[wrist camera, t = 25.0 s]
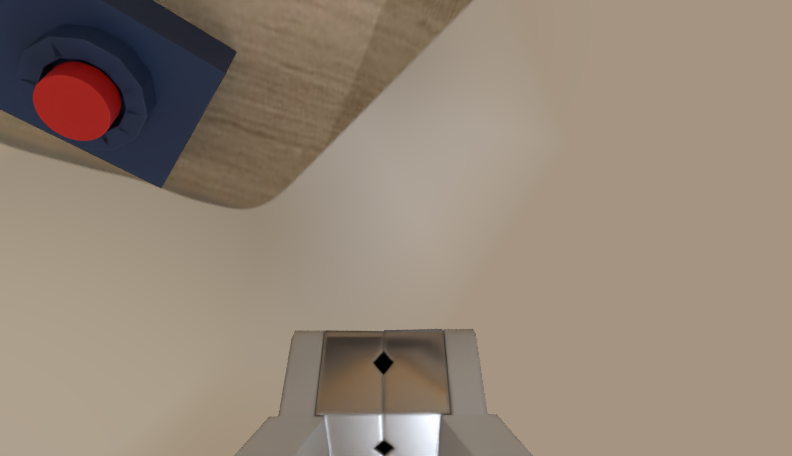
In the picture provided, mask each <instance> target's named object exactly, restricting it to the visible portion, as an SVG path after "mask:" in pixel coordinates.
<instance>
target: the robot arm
mask: <svg viewBox="0 0 792 456" xmlns="http://www.w3.org/2000/svg"><path fill="white" fill-rule="evenodd" d="M235 456H533V455H532V454H531V453H530V452H529V451H528V450H527V449H526V447H525V446H524V445H523V444H522V443H521V442H520V441H519V439H518V438H517V437H516V436H515V435H514V434H513V433H512V431H511V430H510V429H509V428H508V427H507V426H506V425H505V423H504V422H503V421H502V420H501V419H500V418H499V417H498V416H497V415H494V414H487V408H486V401H485V394H484V387H483V381H482V373H481V366H480V359H479V353H478V346H477V339H476V334H475V332H474V330H473V329H444V330H442V329H426V330H425V329H423V330H422V329H421V330H384V331H295V332H294V335H293V337H292V339H291V345H290V351H289V357H288V363H287V369H286V375H285V381H284V386H283V392H282V398H281V404H280V410H279V415H278V417H269V418H268V419H267V420H266V421H265V422H264V423H263V425H262V426H261V427H260V428H259V429H258V430H257V431H256V432H255V433H254V434H253V435H252V437H251V438H250V439H249V440H248V441H247V442H246V443H245V444H244V446H243V447H242V448H241V449H240V450H239V451H238V452H237V453H236V455H235Z"/></svg>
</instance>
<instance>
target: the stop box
mask: <svg viewBox="0 0 792 456" xmlns="http://www.w3.org/2000/svg"><path fill="white" fill-rule="evenodd" d="M235 54H236V51H235V50H233V49H231V48H230V47H228V46H227V45H225V44H223V43H222V42H220V41H218V40H217V39H215V38H213V37H212V36H210V35H208V34H207V33H205V32H204V31H202V30H200V29H199V28H197V27H195V26H194V25H192V24H190V23H189V22H187V21H185V20H184V19H182V18H180V17H179V16H177V15H176V14H174V13H172V12H171V11H169V10H167V9H166V8H164V7H162V6H161V5H159V4H157V3H156V2H154V1H152V0H0V110H3V111H5V112H7V113H9V114H11V115H13V116H15V117H17V118H19V119H21V120H23V121H25V122H27V123H29V124H31V125H33V126H35V127H37V128H39V129H41V130H43V131H45V132H47V133H49V134H52V135H54V136H56V137H58V138H60V139H62V140H64V141H66V142H68V143H70V144H72V145H74V146H76V147H78V148H80V149H82V150H84V151H86V152H88V153H90V154H92V155H94V156H96V157H98V158H100V159H103V160H105V161H107V162H109V163H111V164H113V165H115V166H117V167H119V168H121V169H123V170H125V171H127V172H129V173H131V174H133V175H135V176H137V177H139V178H141V179H143V180H145V181H147V182H149V183H152V184H154V185H156V186H158V187H160V188H162V186H163V184H164V183H165V181H166V179H167V177H168V175H169V174H170V172H171V170H172V168H173V167H174V165H175V163H176V161H177V159H178V158H179V156H180V154H181V152H182V150H183V149H184V147H185V145H186V143H187V142H188V140H189V138H190V136H191V134H192V133H193V131H194V129H195V127H196V125H197V124H198V122H199V120H200V118H201V117H202V115H203V113H204V111H205V109H206V108H207V106H208V104H209V102H210V100H211V99H212V97H213V95H214V93H215V92H216V90H217V88H218V86H219V84H220V83H221V81H222V79H223V77H224V75H225V74H226V72H227V70H228V68H229V66H230V64H231V62H232V60H233V58H234V56H235ZM64 62H82V63H86V64H88V65H91V66H93V67H95V68H97V69H99V70H100V71H102V72H103V73H104V74H105V75H107V76H108V77H109V78H110V79H111V81H112V82H113V83H114V84H115V86H116V88H117V89H118V92H119V94H120V98H121V110H120V113H119V115H118V116H117V118H116V119H115V120H114V122H113V123H112V124H111V126H110V127H109V128H108V130H107V131H106V132H105V133H104V134H103V135H102V136H101V137H99V138H96V139H94V140H88V141H79V140H73V139H70V138H67V137H64V136H62V135H60V134H58V133H57V132H55V131H54V130H52V129H51V128H50V127H48V126H47V125H46V124H45V123H44V122H43V120H42V119H41V118H40V116H39V115H38V113H37V111H36V109H35V107H34V103H33V92H34V88H35V86H36V85H37V83H38V82H39V81H40V80H41V79H42V78H43V77H45V76H46V75H47V74H48V73H49V72H50V71H51V70H52V69H53V68H54V67H55V66H57V65H59V64H61V63H64Z"/></svg>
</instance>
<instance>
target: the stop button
mask: <svg viewBox="0 0 792 456" xmlns="http://www.w3.org/2000/svg"><path fill="white" fill-rule="evenodd" d="M33 103H34V107H35V109H36V111H37V113H38V115H39V116H40V118H41V119H42V120H43V122H44V123H45V124H46V125H47V126H48V127H50V128H51V129H52V130H54V131H55V132H57V133H58V134H60V135H62V136H64V137H67V138H70V139H73V140H79V141H88V140H94V139H96V138H99V137H101V136H102V135H103V134H104V133H105V132H106V131H107V130H108V128H109V127H110V126H111V124H112V123H113V122H114V120H115V119H116V118H117V116H118V115H119V113H120V110H121V98H120V94H119V92H118V89H117V88H116V86H115V84H114V83H113V82H112V81H111V79H110V78H109V77H108V76H107V75H105V74H104V73H103V72H102V71H100V70H99V69H97V68H95V67H93V66H91V65H88V64H86V63H82V62H64V63H61V64H59V65H57V66H55V67H54V68H53V69H52V70H51V71H50V72H49V73H48V74H47V75H46V76H45V77H43V78H42V79H41V80H40V81H39V82H38V83H37V85H36V86H35V88H34V92H33Z"/></svg>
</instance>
